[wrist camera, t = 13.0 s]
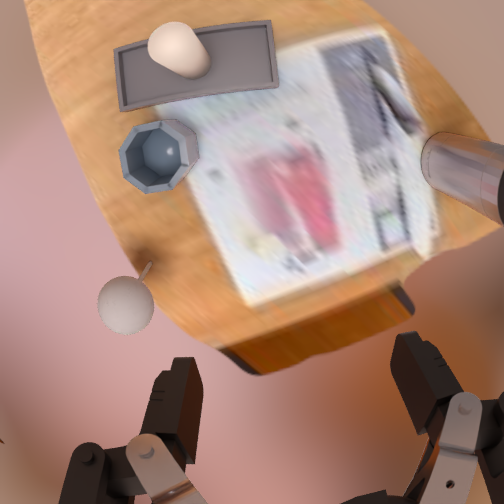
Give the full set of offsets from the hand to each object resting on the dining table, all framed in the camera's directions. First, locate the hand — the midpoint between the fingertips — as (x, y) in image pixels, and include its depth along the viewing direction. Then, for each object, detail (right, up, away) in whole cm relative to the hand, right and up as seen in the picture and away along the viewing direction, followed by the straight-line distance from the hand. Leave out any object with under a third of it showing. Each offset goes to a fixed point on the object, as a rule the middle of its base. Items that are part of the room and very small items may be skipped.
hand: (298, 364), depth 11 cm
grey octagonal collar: (-13, +18, +27) cm, 35 cm away
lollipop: (-17, +3, +34) cm, 38 cm away
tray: (-9, +28, +22) cm, 37 cm away
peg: (-9, +28, +21) cm, 36 cm away
